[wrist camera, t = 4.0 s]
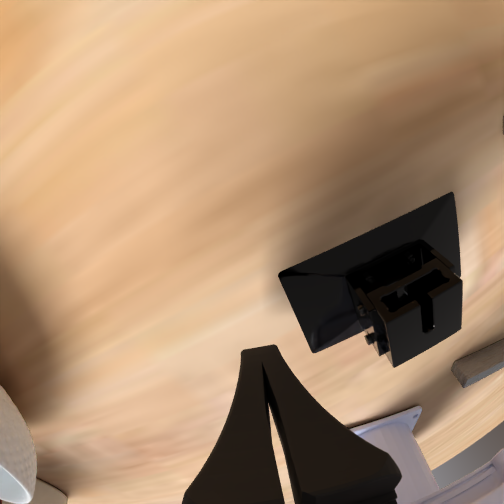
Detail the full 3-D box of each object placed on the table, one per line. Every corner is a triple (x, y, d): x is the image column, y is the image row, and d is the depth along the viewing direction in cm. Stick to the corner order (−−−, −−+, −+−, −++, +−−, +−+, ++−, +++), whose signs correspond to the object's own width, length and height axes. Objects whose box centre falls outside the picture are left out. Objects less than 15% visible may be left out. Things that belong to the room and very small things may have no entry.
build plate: (463, 162, 13) (530, 191, 9) (471, 274, 16) (518, 316, 12) (236, 267, 14) (250, 339, 10) (292, 367, 17) (313, 434, 13)
